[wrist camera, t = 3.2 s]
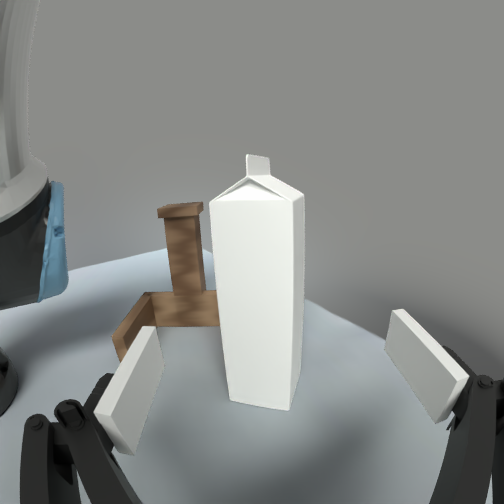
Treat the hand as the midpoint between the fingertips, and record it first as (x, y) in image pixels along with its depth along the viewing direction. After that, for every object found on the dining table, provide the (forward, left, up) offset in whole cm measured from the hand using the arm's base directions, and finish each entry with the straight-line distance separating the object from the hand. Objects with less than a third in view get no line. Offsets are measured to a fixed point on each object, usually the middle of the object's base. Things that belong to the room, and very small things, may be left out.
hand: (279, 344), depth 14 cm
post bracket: (-13, +17, -12) cm, 25 cm away
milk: (-2, +9, -12) cm, 15 cm away
